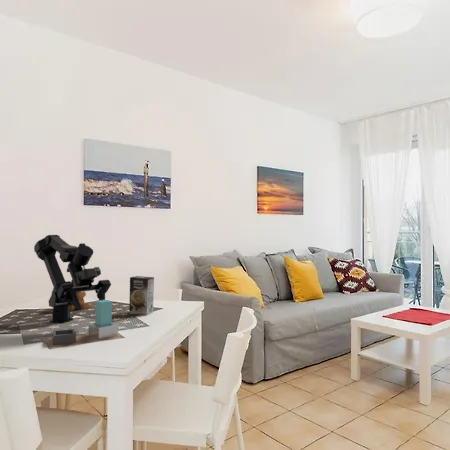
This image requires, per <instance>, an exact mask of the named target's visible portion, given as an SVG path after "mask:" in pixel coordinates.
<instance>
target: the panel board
mask: <svg viewBox="0 0 450 450" xmlns="http://www.w3.org/2000/svg"><path fill="white" fill-rule="evenodd" d="M88 334H89V332H85V333H80V334H76V343H72V344H62V345H53V337H50V338H45V339H42V341H43V343H44V344H45V345H46V347H47V348H48V349H49V350H53V349H59V348H66V347H72V346H78V345H79V346H80V345H86V344H92V343H98V342H104V341H111V340H112V341H113V340H118V339H119V340H120V339H125V336H123V335H122V334H120V333H119V332H118V336H115V337H110V338H105V339H101V340H98V339H95V338H93V337H91V336H88Z"/></svg>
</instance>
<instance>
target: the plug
mask: <svg viewBox="0 0 450 450" xmlns="http://www.w3.org/2000/svg"><path fill="white" fill-rule="evenodd" d="M94 305H95V309H94V310H95V311H94V313H95V315H94V316H95V317H94V321H95V322H94V323H95V325H96V326H98V327H103V326H108V325H112V319H113V315H112V314H113V312H112V311H113V310H112V309H113V300H109V299H105V300H100V301H99V300H96V301H95V303H94Z"/></svg>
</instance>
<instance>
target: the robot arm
mask: <svg viewBox="0 0 450 450" xmlns="http://www.w3.org/2000/svg"><path fill="white" fill-rule="evenodd" d="M33 249H34V250H33V251H34V252H35V254H36V256H37V258H39V260H41V261H43V263H44V265H45V268H46V271H47V273H48V276H49V278H50V281H51V284H52V286H53V288H52V290H51V294H50V297H49V300H48V306H49V307H50V308H52V319H50V320H49V322H51V323H60V324H64V323H67V322H69V321H73V319H74V318H73V317H71V311H70V305H73V306H75V307H76V308H77V309H79V310H78V311H81V310H82V309H81V305H80V303H79V300H78V298H77V296H76V292H92V291H93V292H95V294H96V297H97V299H98V301H100V300H106V294H107V293H108V291H109V289H110V287H111V285H112V283H111V281H110V280H109V279H100V280H98V282H97V283H96V284H93V283H94V282H95V278H98V277H99V276H101V274H102V273H101V271H102V270H101V269H100V267H99V266H95V267H93V268H86V267H85V266H87V265H88V264H89V262H90V261H91V258H92V257H93V254H94V249H92V247H90V246H88V245H86V243H83V242H81V243H78V246H77V245H70V244H69V243H67V241H65V240H64V239H63V238H61V236H60V235H59V234H48V235H46V236H44V237H43V238H42V239H39V240H37V241H36V243H35V244H34V247H33ZM57 253H58V254H59V256H58V257H59V259H60V260H61V261H62V263H68V264H67V268H66V273H69V274H70V277H71V281H70V280H69V281H66V279H65V277H64V275H63V271H62V269H61V267H60V264H59V262H58V259H57V257H56V254H57ZM71 282H72V283H71ZM73 283H74V285H75V286H74V285H73ZM73 286H74V287H73Z"/></svg>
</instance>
